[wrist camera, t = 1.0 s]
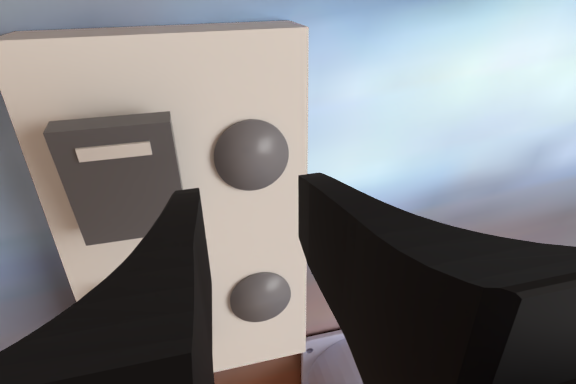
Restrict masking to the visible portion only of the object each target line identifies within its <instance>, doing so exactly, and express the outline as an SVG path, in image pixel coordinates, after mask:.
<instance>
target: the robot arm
mask: <svg viewBox="0 0 576 384" xmlns="http://www.w3.org/2000/svg"><path fill="white" fill-rule="evenodd" d="M298 235H299V240H300V243H301V246H302V249H303V252H304V255H305V258H306V261H307V263H308V266H309V268H310V270H311V272H312V274H313V276H314V278H315V280H316V282H317V284H318V286H319V288H320V290H321V292H322V293H323V295H324V297H325V299H326V301H327V303H328V305H329V307H330V309H331V311H332V313H333V315H334V316H335V318H336V320H337V322H338V324H339V326H340V328H341V330H338V331H333V332H328V333H324V334H319V335H314V336H310V337H306V352H304V353H301V384H576V247H572V246H562V245H552V244H542V243H535V242H529V241H522V240H516V239H510V238H504V237H498V236H493V235H488V234H483V233H479V232H475V231H470V230H466V229H462V228H458V227H454V226H450V225H446V224H443V223H439V222H436V221H433V220H430V219H427V218H424V217H421V216H417V215H415V214H412V213H409V212H406V211H404V210H401V209H399V208H396V207H394V206H391V205H389V204H387V203H384V202H382V201H380V200H377V199H375V198H373V197H371V196H369V195H367V194H365V193H362V192H360V191H358V190H356V189H354V188H352V187H350V186H348V185H346V184H344V183H342V182H340V181H338V180H336V179H334V178H332V177H329V176H327V175H325V174H322V173H313V174H305V175H298ZM0 384H214V374H213V356H212V280H211V272H210V264H209V256H208V249H207V241H206V234H205V227H204V219H203V212H202V205H201V198H200V190H199V188H193V189H185V190H177V191H175V192H174V193H173V194H172V195H171V197H170V199H169V201H168V202H167V204H166V206H165V208H164V209H163V211H162V212H161V214H160V216H159V217H158V218H157V220H156V221H155V223H154V224H153V226H152V227H151V229H150V230H149V231H148V233H147V234H146V235H145V237H144V238H143V239H142V240H141V241H140V243H139V244H138V245H137V246H136V248H135V249H134V250H133V251H132V252H131V254H130V255H129V256H128V257H127V258H126V259H125V260H124V261H123V262H122V263H121V264H120V265H119V266H118V267H117V268H116V269H115V270H114V271H113V272H112V273H111V274H110V275H109V276H108V277H106V278H105V279H104V280H103V281H102V282H101V283H99V284H98V285H97V286H96V287H94V288H93V289H92V290H91V291H89V292H88V293H87V294H86V295H84V296H83V297H82V298H81V299H80V300H78V301H77V302H76V303H75V304H73V305H72V306H71V307H69V308H68V309H66V310H65V311H63V312H62V313H61V314H59V315H58V316H56V317H55V318H54V319H52V320H51V321H49V322H48V323H46V324H45V325H43V326H41V327H40V328H38V329H37V330H35V331H34V332H32V333H31V334H29V335H28V336H26V337H24V338H23V339H21V340H20V341H18V342H16V343H15V344H13V345H11V346H9V347H8V348H6V349H4V350H2V351H1V352H0Z"/></svg>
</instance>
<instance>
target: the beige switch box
mask: <svg viewBox="0 0 576 384" xmlns="http://www.w3.org/2000/svg"><path fill="white" fill-rule="evenodd" d="M308 29H309V27H307V26H304V25H301V24H298V23H295V22H292V21H289V20H286V21H261V22H236V23H211V24H186V25H161V26H135V27H110V28H85V29H60V30H35V31H14V32H11V33H8V34H5V35H2V36H0V91H1V93H2V96H3V99H4V102H5V105H6V107H7V110H8V113H9V116H10V118H11V121H12V124H13V127H14V130H15V132H16V135H17V138H18V141H19V144H20V146H21V149H22V152H23V155H24V158H25V160H26V163H27V166H28V169H29V172H30V174H31V177H32V180H33V183H34V185H35V188H36V191H37V194H38V197H39V199H40V202H41V205H42V208H43V211H44V213H45V216H46V219H47V222H48V225H49V227H50V230H51V233H52V236H53V239H54V241H55V244H56V247H57V250H58V252H59V255H60V258H61V261H62V264H63V266H64V269H65V272H66V275H67V278H68V280H69V283H70V286H71V289H72V292H73V294H74V297H75V300H76V302H77V301H78V300H80V299H81V298H82V297H83V296H84V295H86V294H87V293H88V292H89V291H91V290H92V289H93V288H94V287H96V286H97V285H98V284H99V283H101V282H102V281H103V280H104V279H105V278H106V277H108V276H109V275H110V274H111V273H112V272H113V271H114V270H115V269H116V268H117V267H118V266H119V265H120V264H121V263H122V262H123V261H124V260H125V259H126V258H127V257H128V256H129V255H130V254H131V252H132V251H133V250H134V249H135V248H136V246H137V245H138V244H139V243H140V241H141V240H142V239H143V238H144V237H143V238H137V239H130V240H123V241H116V242H109V243H102V244H96V245H89V246H86V244H85V242H84V239H83V236H82V234H81V231H80V229H79V226H78V223H77V221H76V218H75V216H74V213H73V210H72V208H71V205H70V203H69V200H68V197H67V195H66V192H65V190H64V187H63V184H62V182H61V179H60V177H59V174H58V171H57V169H56V166H55V164H54V161H53V158H52V156H51V153H50V151H49V148H48V145H47V143H46V140H45V138H44V135H43V132H44V130H45V128H46V126H47V124H48V122H49V121H58V120H70V119H82V118H94V117H106V116H118V115H130V114H142V113H154V112H166V111H170V114H171V120H172V126H173V132H174V138H175V144H176V150H177V156H178V162H179V168H180V174H181V180H182V186H183V190H185V189H193V188H199V190H200V198H201V205H202V212H203V219H204V227H205V234H206V241H207V249H208V256H209V264H210V272H211V280H212V356H213V373H214V372H218V371H223V370H227V369H232V368H236V367H241V366H245V365H250V364H254V363H259V362H263V361H268V360H272V359H277V358H281V357H286V356H290V355H295V354H299V353H304V352H306V258H305V255H304V252H303V249H302V246H301V243H300V240H299V235H298V175H305V174H307V145H308Z"/></svg>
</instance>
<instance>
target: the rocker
mask: <svg viewBox="0 0 576 384" xmlns="http://www.w3.org/2000/svg"><path fill="white" fill-rule="evenodd" d="M43 135H44V138H45V140H46V143H47V145H48V148H49V151H50V153H51V156H52V158H53V161H54V164H55V166H56V169H57V171H58V174H59V177H60V179H61V182H62V184H63V187H64V190H65V192H66V195H67V197H68V200H69V203H70V205H71V208H72V210H73V213H74V216H75V218H76V221H77V223H78V226H79V229H80V231H81V234H82V236H83V239H84V242H85V244H86V246H89V245H96V244H102V243H109V242H116V241H123V240H130V239H137V238H143V237H145V235H146V234H147V233H148V231H149V230H150V229H151V227H152V226H153V224H154V223H155V221H156V220H157V218H158V217H159V216H160V214H161V212H162V211H163V209H164V208H165V206H166V204H167V202H168V201H169V199H170V197H171V195H172V194H173V193H174V192H175V191H177V190H183V186H182V180H181V174H180V168H179V162H178V156H177V150H176V144H175V138H174V132H173V126H172V120H171V114H170V111H166V112H154V113H142V114H130V115H118V116H106V117H94V118H82V119H70V120H58V121H49V122H48V124H47V126H46V128H45V130H44V132H43Z"/></svg>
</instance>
